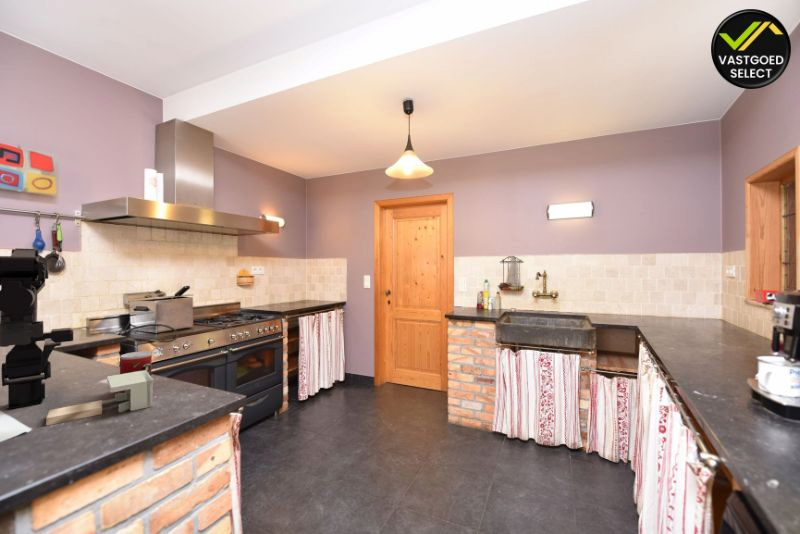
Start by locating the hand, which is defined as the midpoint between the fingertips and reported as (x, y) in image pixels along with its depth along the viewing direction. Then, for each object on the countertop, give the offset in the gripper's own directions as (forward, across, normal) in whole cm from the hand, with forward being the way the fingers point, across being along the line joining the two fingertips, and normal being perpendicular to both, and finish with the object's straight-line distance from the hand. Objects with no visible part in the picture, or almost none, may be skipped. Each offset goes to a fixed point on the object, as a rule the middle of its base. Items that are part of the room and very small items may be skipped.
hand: (18, 376), depth 81 cm
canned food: (+12, +24, +12) cm, 29 cm away
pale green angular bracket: (+12, +21, 0) cm, 24 cm away
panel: (+12, +10, 0) cm, 16 cm away
